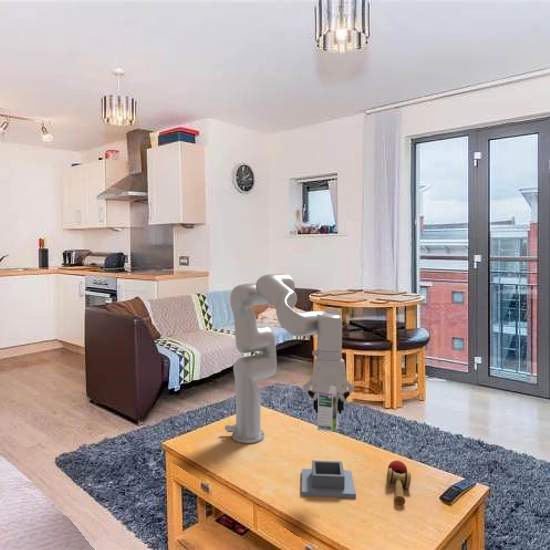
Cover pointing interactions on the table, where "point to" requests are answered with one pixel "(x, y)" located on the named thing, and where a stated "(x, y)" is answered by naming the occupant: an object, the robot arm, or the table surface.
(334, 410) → the syrup box
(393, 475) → the kendama
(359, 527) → the table surface
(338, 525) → the table surface
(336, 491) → the socket board
